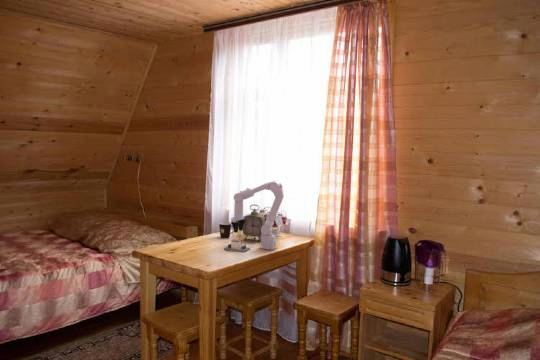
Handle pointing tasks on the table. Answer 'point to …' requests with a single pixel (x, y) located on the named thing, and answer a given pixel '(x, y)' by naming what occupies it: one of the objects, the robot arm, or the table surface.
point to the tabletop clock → (253, 224)
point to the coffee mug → (225, 229)
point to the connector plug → (236, 244)
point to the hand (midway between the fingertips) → (238, 231)
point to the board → (242, 249)
